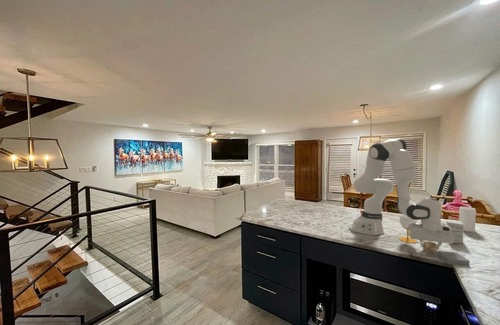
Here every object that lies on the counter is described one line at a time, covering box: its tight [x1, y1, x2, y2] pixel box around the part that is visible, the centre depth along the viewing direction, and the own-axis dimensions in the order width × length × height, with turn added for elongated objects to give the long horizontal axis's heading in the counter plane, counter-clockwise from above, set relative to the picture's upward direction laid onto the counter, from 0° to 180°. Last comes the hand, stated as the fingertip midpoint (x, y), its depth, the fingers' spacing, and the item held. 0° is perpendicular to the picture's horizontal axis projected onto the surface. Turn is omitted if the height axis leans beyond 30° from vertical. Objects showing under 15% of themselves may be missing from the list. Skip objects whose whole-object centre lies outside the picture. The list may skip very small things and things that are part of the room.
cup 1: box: [398, 214, 418, 244], centre depth 137 cm, size 9×9×16 cm
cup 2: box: [458, 206, 477, 232], centre depth 152 cm, size 8×8×16 cm
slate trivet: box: [437, 250, 471, 267], centre depth 112 cm, size 9×9×3 cm
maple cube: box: [422, 240, 438, 254], centre depth 123 cm, size 5×5×5 cm
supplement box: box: [445, 218, 464, 245], centre depth 135 cm, size 7×7×13 cm
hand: (429, 247), depth 123 cm, fingers closed on maple cube, 5 cm apart
